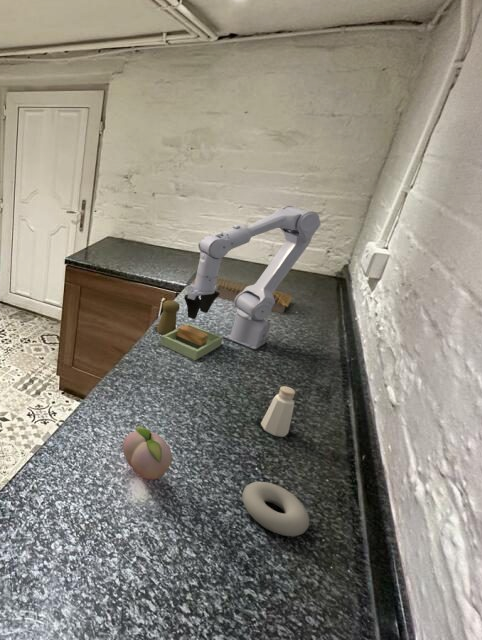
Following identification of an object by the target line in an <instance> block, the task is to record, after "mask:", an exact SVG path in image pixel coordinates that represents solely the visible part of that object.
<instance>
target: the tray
mask: <svg viewBox="0 0 482 640" xmlns="http://www.w3.org/2000/svg"><path fill="white" fill-rule="evenodd" d="M185 325H187V326H189V327H192V328H194V329H196V330H199V331H201V332H204V333H206V334H209V335H208V339H207V343H206V345H204V346H202V347H200V348H199V349H196V348H194V347H191V346H189V345H187V344H185V343H182V342H180V341H178V340H176V337H177V333H178V328H176V330H174V331H172V332H170V333H167V334H165V335H164V334H162V336H161V340H160V345H161V346H163V347H165V348H168V349H169V350H172V351H173V352H176V353H178V354H180V355H182V356H184V357H187V358H189V359H191V360H192V361H197V360H199V359H200V358H202V357H204V356H205V355H207V354H209V353H211V352H212V351H214V350H216V349H218V348H219V347H221V346H222V342H223V339H224V337H223V336H221V335H218V334H216V333H213V332H211V331H208V330H206V329H204V328H201V327H199V326H196V325H194V324H191V323H187V324H185Z"/></svg>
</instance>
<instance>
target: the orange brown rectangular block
mask: <svg viewBox="0 0 482 640" xmlns="http://www.w3.org/2000/svg"><path fill="white" fill-rule="evenodd" d="M177 329H178V333H177V337H176V340H178V341H180V342H182V343H185V344H187V345H189V346H191V347H194V348H196V349H199V348H200V347H202V346H204V345H206V343H207V339H208V335H209V334H206V333H204V332H201V331H199V330H196V329H194V328H192V327H189V326H187V325H186V324H182V325H181V326H178V328H177Z"/></svg>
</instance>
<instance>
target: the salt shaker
mask: <svg viewBox="0 0 482 640" xmlns="http://www.w3.org/2000/svg"><path fill="white" fill-rule="evenodd" d="M295 395H296V391H295V389H294V388H292V387H289V386H285V385H282V386H280V388H279V392H278V393H277V394H276V395H275V396H274V397H273V399H272V401H271V402H270V405H269V406H268V408H267V410H266V412H265V414H264V416H263V418H262V420H261V422H260V426H261V427H262V429H263V430H264V431H265V432H266V433H268V434H271V435H272V436H275V437H281V438H282V437H283V438H285V437H286V436H287V435H288V434H289V433H290V427H291V423H292V417H293V413H294V408H295V400H294V397H295Z"/></svg>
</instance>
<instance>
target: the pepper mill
mask: <svg viewBox="0 0 482 640" xmlns="http://www.w3.org/2000/svg"><path fill="white" fill-rule="evenodd" d="M179 310H180V304H179V303H178V302H177V301H176V300H171V299H168V300H165V301H164V302H163V303H162V313H161V316H160V318H159V322H158V324H157V327H156V331H157V332H158V333H159V334H161V335H165V334H167V333H170V332H172V331H174V330H176V329H177V328H176V327H177V314H178V312H179Z"/></svg>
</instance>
